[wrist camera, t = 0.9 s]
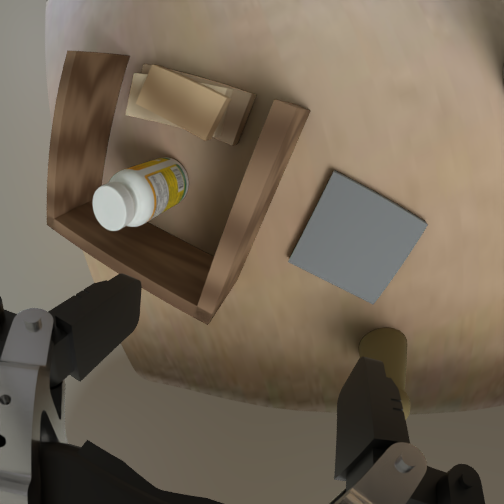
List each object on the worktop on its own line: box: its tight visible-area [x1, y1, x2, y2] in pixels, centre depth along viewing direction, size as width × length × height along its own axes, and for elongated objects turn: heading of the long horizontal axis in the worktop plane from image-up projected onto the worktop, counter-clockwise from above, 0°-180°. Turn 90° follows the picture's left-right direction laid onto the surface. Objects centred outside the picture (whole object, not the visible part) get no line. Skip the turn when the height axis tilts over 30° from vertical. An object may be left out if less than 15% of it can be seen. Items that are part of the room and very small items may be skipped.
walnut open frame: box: [47, 51, 310, 325], centre depth 26 cm, size 20×22×8 cm
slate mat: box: [288, 170, 428, 304], centre depth 27 cm, size 10×10×1 cm
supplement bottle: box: [93, 157, 189, 231], centre depth 26 cm, size 5×5×10 cm
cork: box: [359, 328, 410, 420], centre depth 27 cm, size 6×6×11 cm
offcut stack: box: [126, 64, 256, 145], centre depth 24 cm, size 6×12×4 cm, turn 70°
